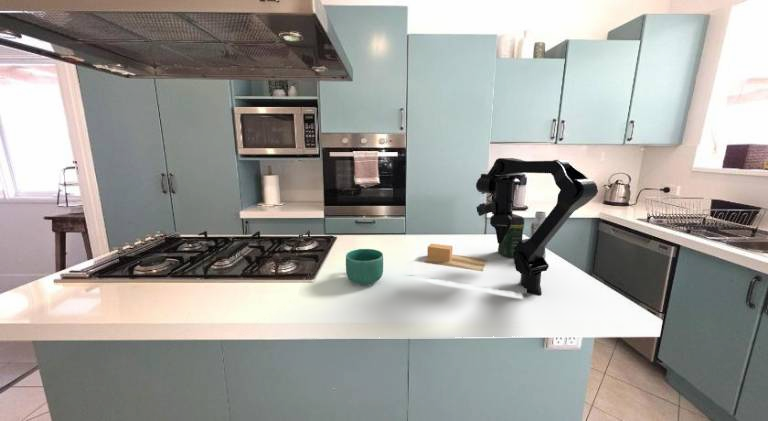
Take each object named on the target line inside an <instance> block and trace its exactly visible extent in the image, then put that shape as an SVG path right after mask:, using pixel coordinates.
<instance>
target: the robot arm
mask: <svg viewBox="0 0 768 421" xmlns="http://www.w3.org/2000/svg"><path fill="white" fill-rule="evenodd" d="M523 173H524V174H551V175H552V177H553V179H554V183H555V185H556V186H557V188H558V189H559V192H558V194H557V201H556V205H555V206H553V208H552V210H551V211H550V212H549V213H548V215H546V218H545V220H544V221H543V223H542V224H541V225H540V226H539V228H538V229H537V230H536V232H535V233H534V234H533V236H532V237H531V236H530V237H528V238H524V239H523V238H522V240H520V241H519V242H518V244H517V246H516V247H514V248H513V249H514V251H513V254H512V255H513V258H512V259H513V261H514V262H513V263H514V267H515V270H516V272H518V273H519V274H520V282H519V285H520V286H522V287H523V288H524V289H526V293H528V294H535V295H542V294H543V292H542V288H541V287H542V286H541V282H542V280H541V279H542V278H541V277H542V272H547V271H548V269H549V267H550V266H549V264H548V262H547V260H546V258H545V259H544V258H543V255H544V253H545V252H546V246H547V245H548V243H549V242H550V241H551V240H552V239H553V237H555V235H556V234H557V233H558V232H559V230H560V229H561V228H562V227H563V225H564V224H565V223H566V222H567V221H568V220H569V218H570V217H571V216H572V215H573V214H574V213H575V212H576V211H577V210H579V209H580V208H582V207H583V206H585V205H587V204H588V203H589V202H590V201H591V200H593V199H594V198H595V197H596V196H597V194H598V192H599V190H598V185H597V183H596V182H595V181H594V180H592V179H590V178H588V177H587V176H586V174H584V173H583V172H581V171H580V170H579V169H577V168H576V167H575V166H574V165H573V164H572V163H570V161H569V160H567V159H553V160H523V159H519V158H514V157H505V158H504V157H500V158H496V160H495V161H494V162H493V165H492V167H491V168H490V170H489V171H488V172H487V173H481V174H480V177H479V178H478V179H477V181H476V183H475V187H476V191H478V192H479V193H483V194H490V195H494V198H493V199H492V201H490V202H486V203H485V202H482V203H479V205H477V206H476V213H477V214H478V217H481V216H483V215H486V214H489V213H491V214H492V215H491V216H490V218H489V219H490V220H489V221H490V222H489V224H490V226H491V227H492V228H493V229H494V230H495V235H496V241H497V244H498V245H499V244H501V243H502V241H503V239H504V237H505V236H506V234H507V232H508V230H509V228H510V226H511V219H512V214H513V211H514V210H513V209H512V208H513V198H514V197H513V196H514V185H515V184H517V183H520V182H521V181H520V180H519V179H518V177H517V176H516V175H520V174H523ZM509 215H510V216H509Z"/></svg>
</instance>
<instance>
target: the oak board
mask: <svg viewBox="0 0 768 421" xmlns="http://www.w3.org/2000/svg"><path fill="white" fill-rule="evenodd" d="M487 260H488V259H487V258H482V257H475V256H468V255H467V256H466V255H460V254H459V255H458V254H453V253H452V259H451V261H450V262H446V261H439V260H432V259H427V258H426V259H424V261H423V263H424V264H432V265H438V266H444V267H452V268H458V269H465V270H473V271H478V272H479V271H480V272H483V271H484V269H485V266H486V263H487Z"/></svg>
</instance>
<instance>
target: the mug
mask: <svg viewBox="0 0 768 421" xmlns="http://www.w3.org/2000/svg"><path fill="white" fill-rule="evenodd" d="M345 272H346V274H345V275H346V277H347V278H348V280H349V281H350V282H352V283H354V284H357V285H358V284H360V286H370V285H369V284H371V285H373V284H374V283H377V282H378V281H379V280H380V279H381V278H382V277H383V273H384V254H383V252H382V251H380V250H378V249H373V248H358V249H353V250H351V251H349V252H347V253H346V254H345Z"/></svg>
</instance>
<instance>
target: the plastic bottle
mask: <svg viewBox="0 0 768 421" xmlns="http://www.w3.org/2000/svg"><path fill="white" fill-rule="evenodd" d="M534 213H535V214H534V217H535V218H534V219H533V220H532V221H531V223H530V238H531V237H532V236H533V234H534V233H535V232H536V230H537V229H538V228H539V226H540V225H541V224H542V223H543V221H544V220H545V219H546V217H547V212H545V211H535V212H534ZM546 255H547V254H546V251H545V253H544V255H543V258H544V259H545V260H546Z"/></svg>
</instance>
